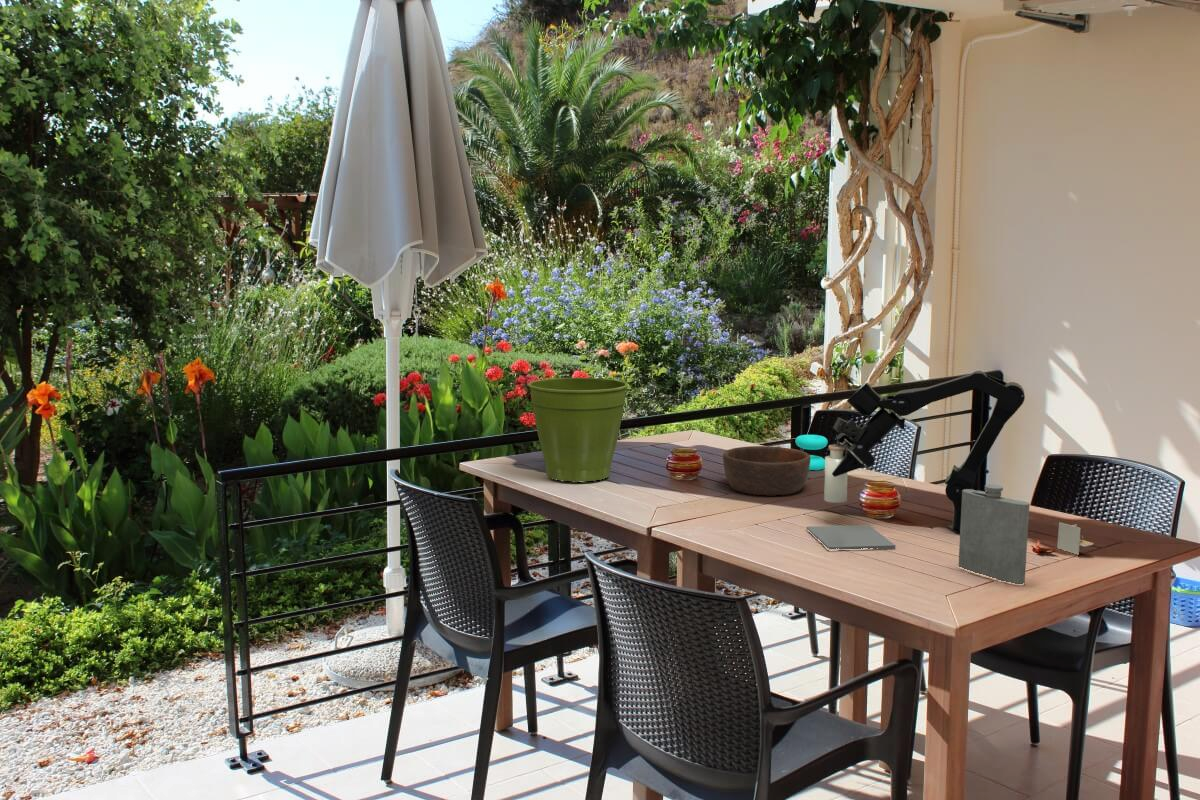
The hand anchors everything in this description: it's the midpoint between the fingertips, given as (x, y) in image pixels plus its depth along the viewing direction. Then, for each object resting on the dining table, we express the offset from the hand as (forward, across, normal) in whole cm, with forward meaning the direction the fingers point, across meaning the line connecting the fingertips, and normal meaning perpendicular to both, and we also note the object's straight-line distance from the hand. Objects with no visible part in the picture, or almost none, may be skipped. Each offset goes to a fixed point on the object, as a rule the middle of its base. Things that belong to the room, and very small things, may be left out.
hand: (830, 472), depth 273 cm
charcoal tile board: (+8, +15, +10) cm, 20 cm away
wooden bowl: (+17, -38, +2) cm, 42 cm away
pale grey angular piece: (-25, +27, +45) cm, 58 cm away
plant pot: (+55, -53, -36) cm, 85 cm away
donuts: (+3, -66, +16) cm, 68 cm away
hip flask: (-8, +43, +27) cm, 52 cm away
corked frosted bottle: (+4, 0, +6) cm, 7 cm away
